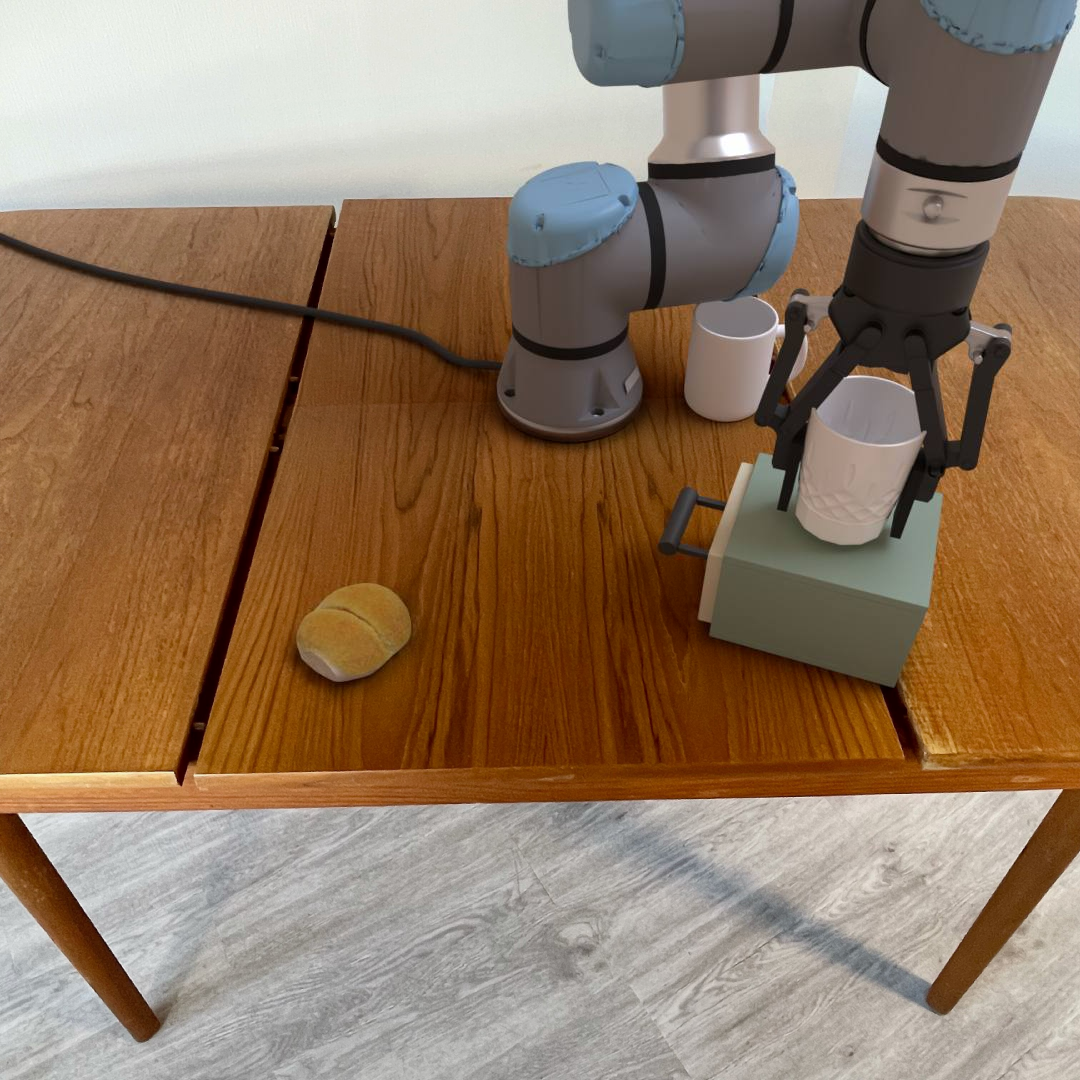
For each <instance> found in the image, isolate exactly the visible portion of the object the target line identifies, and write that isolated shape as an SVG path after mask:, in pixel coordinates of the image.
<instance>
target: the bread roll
mask: <svg viewBox="0 0 1080 1080" xmlns="http://www.w3.org/2000/svg"><path fill="white" fill-rule="evenodd" d="M411 621H412V620H411V616H410V612H409V610H408V608H407V606H406V604H405V603H404V602H403V601H402V599H401V598H400V596H398V595H397V594H396V593H395V592H393V590H391V589H390V588H388V587H386V586H383V585H381V584H377V583H371V582H363V583H355V584H352V585H347V586H343V587H340V588H339V589H336V590H334V591H332V592H331V593H330V594H328V595H327V596H326V597H325V598H323V600H321V602H320V603H319V604H318V605H317V606H316V608H314V610H312V611H311V612H309V613H308V614H307V615H305V616H304V617H303V619H302V620H301V623H300V624H299V626H298V629H297V631H296V646H297V649H298V652H299V655H300V658H301V660H302V661H303V662H304V663H306V664H307V665H308V666H309V667H310V668H311V669H312V670H313V671H315V672H316V673H318V675H321V676H323V677H324V678H326V679H329V680H331V681H333V682H337V683H339V682H348V681H352V680H357V679H358V680H359V679H360V678H365V677H368V676H370V675H372V674H374V673H375V672H376V671H378V670H379V669H380V668H381V667H383V666H384V665H385V664H386V663H387V662H388V661H389V660H390V659H391V658H392V657H393V656H394V655H395V654H397V653H398V652H399V651H400V650H401V649H402V648H403V647H404V646H405V645H406V644H407V643H408V642H409V640H410V638H411V634H412V622H411Z"/></svg>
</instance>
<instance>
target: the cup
mask: <svg viewBox="0 0 1080 1080" xmlns="http://www.w3.org/2000/svg"><path fill="white" fill-rule="evenodd" d="M779 320H780V319H779V314H778V312H777V311H776V309H775V308H774V307H773V306H772V305H771V304H770V303H768V302H766V301H764V300H763V299H761V298H759V297H755V296H754V295H752V296H746V297H741V298H737V299H735V300H733V301H731V302H723V301H713V302H705V303H697V304H696V305H695V306H694V308H693V310H692V318H691V325H690V326H691V327H690V333H689V334H690V335H689V342H688V344H689V345H688V351H687V360H686V368H685V378H684V386H683V387H684V388H683V389H684V390H683V394H684V398H685V402H686V403H687V405H688V406H689V408H690V409H691V410H692V411H693V412H695V414H697V415H699V416H701V417H703V418H705V419H708V420H711V421H716V422H724V423H725V422H726V423H728V422H731V423H732V422H737V421H741V420H745V419H748V418H750V417H751V416H753V415H755V413H756V411H757V408H758V405H759V403H760V400H761V397H762V395H763V392H764V390H765V387H766V384H767V382H768V379H769V377H770V374H769V372H770V368H771V363H772V357H773V352H774V348H775V347H774V346H775V342H776V339H781V338H785V323H784V324H779ZM808 343H809V342H808V336H807V334H806V335H805V338H804V341H803V344H802V347H801V350H800V352H799V355H798V357H797V359H796V362H795V364H794V367H793V369H792V372H791V374H790V376H789V379H788V381H787V384H789V383H791V382H792V381H794V380H795V379H797V377H798V376H799V375H800V374H801V372H802V370H803V369H804V367H805V364H806V361H807V357H808V350H809V344H808Z"/></svg>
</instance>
